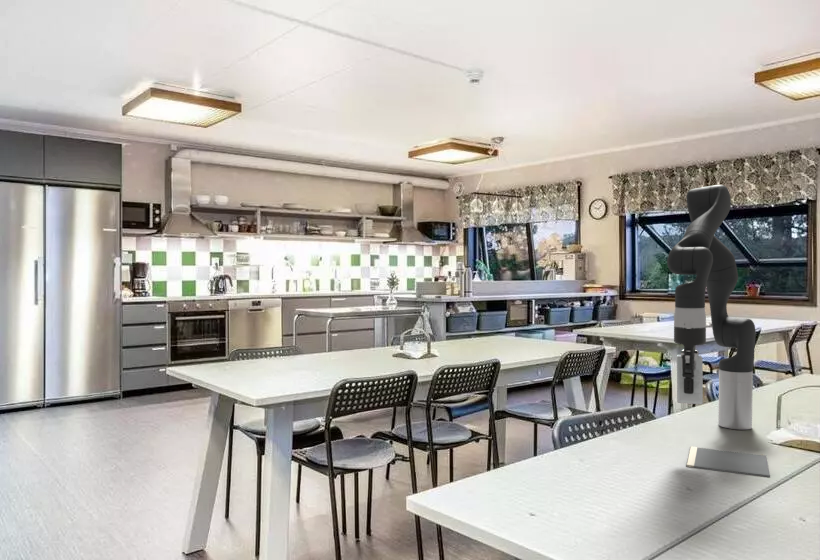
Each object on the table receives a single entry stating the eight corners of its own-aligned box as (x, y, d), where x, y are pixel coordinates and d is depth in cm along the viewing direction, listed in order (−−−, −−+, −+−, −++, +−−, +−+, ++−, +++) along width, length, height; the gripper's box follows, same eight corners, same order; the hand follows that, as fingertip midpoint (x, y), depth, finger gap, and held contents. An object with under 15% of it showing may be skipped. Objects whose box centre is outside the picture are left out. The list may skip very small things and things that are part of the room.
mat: (690, 448, 175) (690, 446, 175) (766, 456, 168) (766, 454, 167) (685, 466, 159) (685, 464, 159) (770, 477, 151) (770, 474, 151)
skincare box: (701, 401, 168) (701, 355, 168) (702, 404, 164) (703, 357, 164) (676, 399, 171) (676, 354, 170) (676, 403, 167) (677, 356, 166)
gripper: (676, 322, 175) (676, 385, 175) (671, 327, 162) (670, 395, 163) (707, 323, 171) (707, 387, 172) (704, 328, 159) (703, 398, 159)
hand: (689, 391), depth 167 cm, fingers closed on skincare box, 4 cm apart
